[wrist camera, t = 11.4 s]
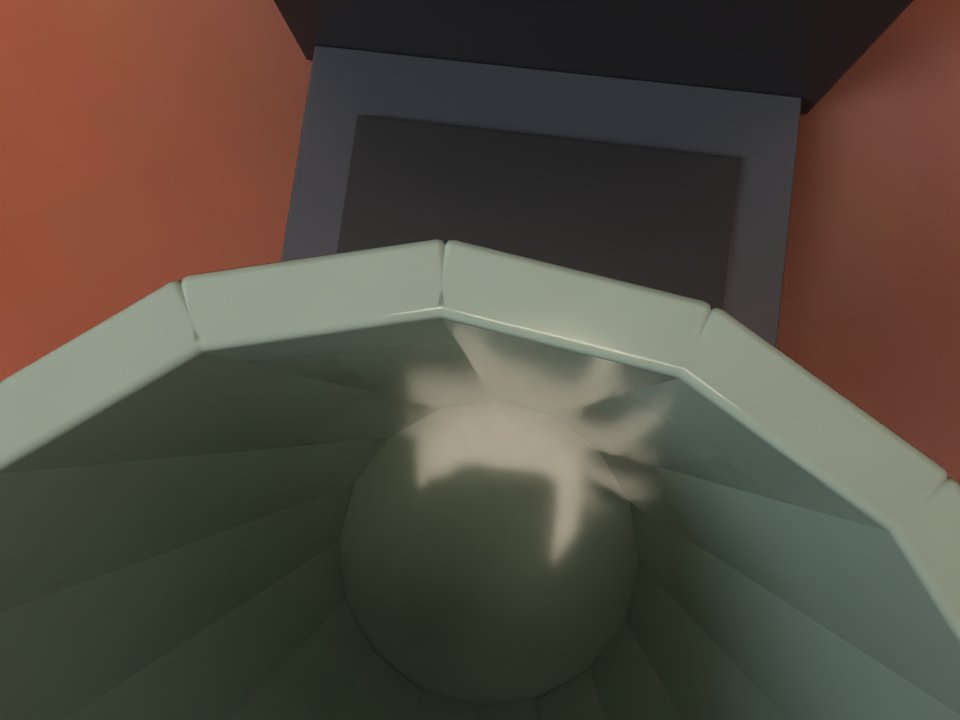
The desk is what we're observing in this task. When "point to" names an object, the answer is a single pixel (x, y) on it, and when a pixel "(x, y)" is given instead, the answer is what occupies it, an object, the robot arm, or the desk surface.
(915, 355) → the desk surface
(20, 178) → the desk surface
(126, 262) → the desk surface
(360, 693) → the cup
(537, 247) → the coffee maker
